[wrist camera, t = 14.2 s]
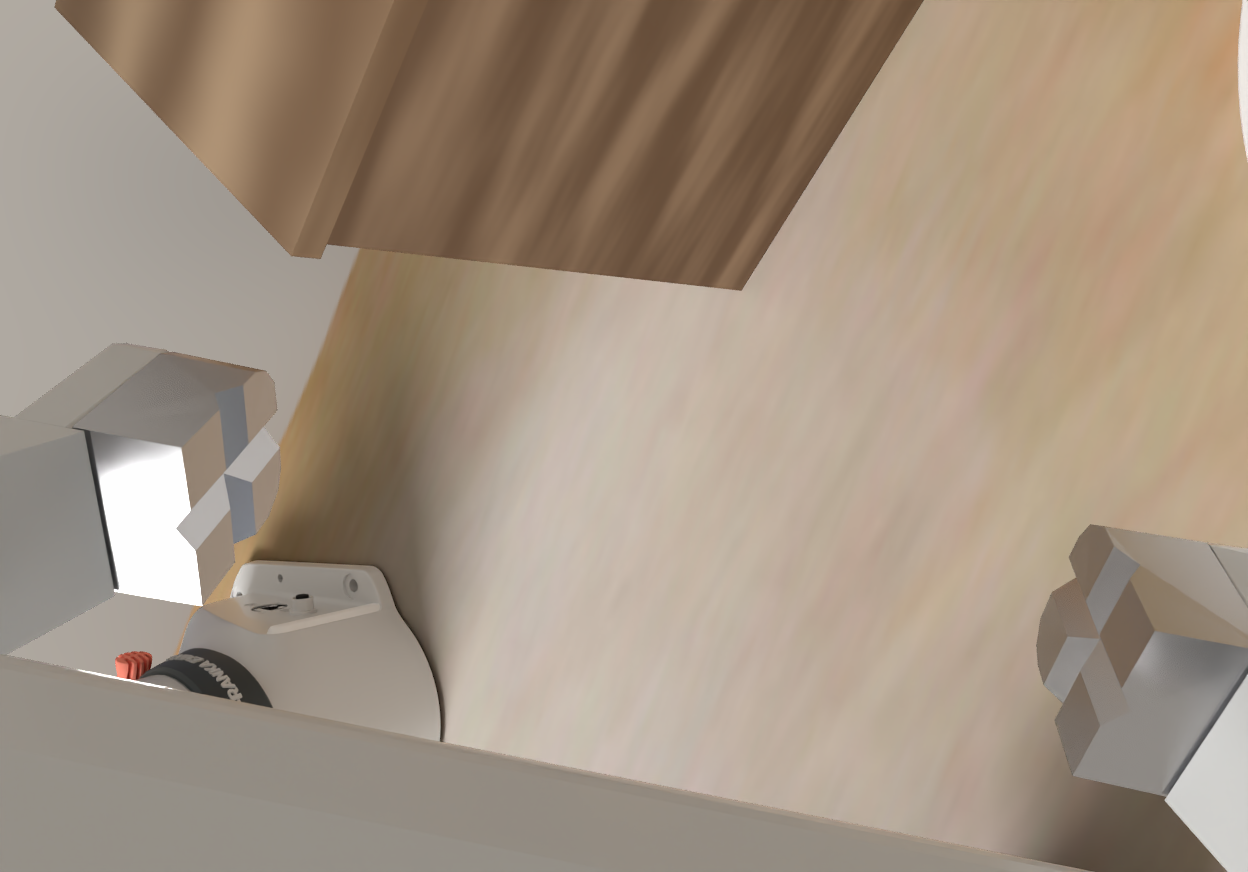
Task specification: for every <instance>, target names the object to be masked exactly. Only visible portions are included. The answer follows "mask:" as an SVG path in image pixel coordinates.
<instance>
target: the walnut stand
mask: <svg viewBox="0 0 1248 872" xmlns="http://www.w3.org/2000/svg"><path fill="white" fill-rule="evenodd" d="M922 2H923V0H56V3H55V8H56V9H57V11H58V12H59V13H60V14H61V15H62V16H63V17H64V18H65V19H66V20H67V21H68V22H69V23H70V24H71V25H72V26H73V27H74V28H75V29H76V30H77V32H78V33H79V34H80V35H81V36H82V37H83V38H84V39H85V40H86V41H87V42H88V43H89V44H90V45H91V46H92V47H93V48H94V49H95V50H96V52H97V53H98V54H99V55H100V56H101V57H102V58H103V59H104V60H105V61H106V62H107V63H108V64H109V65H110V66H111V67H112V68H113V69H114V70H115V71H116V72H117V74H118V75H119V76H120V77H121V78H122V79H123V80H124V81H125V82H126V83H127V84H128V85H129V86H130V87H131V88H132V89H133V90H134V91H135V92H136V93H137V95H138V96H139V97H140V98H141V99H142V100H143V101H144V102H145V103H146V104H147V105H148V106H149V107H150V108H151V109H152V110H153V111H154V112H155V113H156V115H157V116H158V117H159V118H161V120H162V121H163V122H164V123H165V124H166V125H167V126H168V127H169V128H170V129H171V130H172V131H173V132H174V133H175V134H176V136H178V138H179V139H180V140H181V141H182V142H183V143H184V144H185V145H186V146H187V147H188V148H189V149H190V150H191V151H192V152H193V153H194V154H195V155H196V157H197V158H199V160H200V161H201V162H202V163H203V164H204V165H205V166H206V167H207V168H208V169H209V170H210V171H211V172H212V173H213V174H214V175H215V176H216V178H217V179H218V180H219V181H220V182H221V183H222V184H223V185H224V186H225V187H226V188H227V189H228V190H229V191H230V192H231V193H232V194H233V195H234V196H235V197H236V199H237V200H238V201H239V202H240V203H241V204H242V205H243V206H244V207H245V208H246V209H247V210H248V211H249V212H250V213H251V214H252V215H253V216H254V217H255V218H256V219H257V221H258V222H260V224H261V225H262V226H263V227H264V228H265V229H266V230H267V231H268V232H269V233H270V234H271V235H272V236H273V237H274V238H275V239H276V240H277V242H278V243H279V244H280V245H281V246H282V247H283V248H284V249H285V250H286V251H287V252H288V253H289V254H290V255H291V256H296V257H306V258H316V259H321V257H322V254H323V251H324V249H325V247H326V245H327V244H329V245H338V246H348V247H356V248H365V249H374V250H383V251H392V252H401V253H410V254H419V255H427V256H436V257H445V258H454V259H463V260H472V261H481V262H490V263H499V264H508V265H517V266H526V267H535V268H544V269H553V270H562V271H571V272H580V273H588V274H597V275H606V276H615V277H624V278H633V279H642V280H651V281H660V282H669V283H678V284H687V285H696V286H705V287H714V288H723V289H732V290H742V289H743V287H744V285H745V284H746V282H747V281H748V279H749V277H750V276H751V274H752V273H753V271H754V269H755V268H756V266H757V265H758V263H759V261H760V260H761V258H762V257H763V255H764V253H765V252H766V250H767V249H768V247H769V246H770V244H771V242H772V241H773V239H774V238H775V236H776V234H777V233H778V231H779V230H780V228H781V226H782V225H783V223H784V222H785V220H786V218H787V217H788V215H789V214H790V212H791V210H792V209H793V207H794V206H795V204H796V203H797V201H798V199H799V198H800V196H801V195H802V193H803V191H804V190H805V188H806V187H807V185H808V183H809V182H810V180H811V179H812V177H813V175H814V174H815V172H816V171H817V169H818V167H819V166H820V164H821V163H822V161H823V160H824V158H825V156H826V155H827V153H828V152H829V150H830V148H831V147H832V145H833V144H834V142H835V140H836V139H837V137H838V136H839V134H840V132H841V131H842V129H843V128H844V126H845V124H846V123H847V121H848V120H849V118H850V117H851V115H852V113H853V112H854V110H855V109H856V107H857V105H858V104H859V102H860V101H861V99H862V97H863V96H864V94H865V93H866V91H867V89H868V88H869V86H870V85H871V83H872V81H873V80H874V78H875V77H876V75H877V74H878V72H879V70H880V69H881V67H882V66H883V64H884V62H885V61H886V59H887V58H888V56H889V54H890V53H891V51H892V50H893V48H894V46H895V45H896V43H897V42H898V40H899V38H900V37H901V35H902V34H903V32H904V31H905V29H906V27H907V26H908V24H909V23H910V21H911V19H912V18H913V16H914V15H915V13H916V11H917V10H918V8H919V7H920V5H921V3H922Z"/></svg>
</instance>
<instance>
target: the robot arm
mask: <svg viewBox="0 0 1248 872" xmlns="http://www.w3.org/2000/svg"><path fill="white" fill-rule="evenodd" d="M276 411H277V402H276V393H275V383H274V381H273V379H272V378H271V377H270V375H269V374H268V373H267V372H266V371H264V370H259V369H254V368H249V367H245V366H240V365H234V364H230V363H225V362H220V361H215V360H210V359H205V358H201V357H196V356H191V355H186V354H181V353H176V352H169V351H167V350H164V349H157V348H152V347H146V346H139V345H133V344H128V343H116V344H115V343H114V344H111V345H110V346H108V347H107V348H106V349H104V350H103V351H102V352H100V353H99V354H98V355H96V356H95V357H94V358H92V359H91V360H90V361H89V362H87V363H86V364H84V365H83V366H82V367H80V368H79V369H78V370H76V371H75V372H74V373H72V374H71V375H70V376H68V377H67V378H66V379H64V380H63V381H62V382H60V383H59V384H58V385H56V386H55V387H54V388H52V389H51V390H50V391H48V392H47V393H46V394H44V395H43V396H42V397H40V398H39V399H38V400H37V401H35V402H34V403H32V404H31V405H30V406H28V407H27V408H26V409H24V410H23V411H22V412H20V413H19V414H18V415H16V416H15V417H8V416H2V415H0V872H1093V871H1088V870H1083V869H1078V868H1073V867H1068V866H1063V865H1058V864H1053V863H1048V862H1043V861H1038V860H1033V859H1028V858H1023V857H1018V856H1013V855H1008V854H1003V853H998V852H993V851H988V850H983V849H978V848H973V847H968V846H963V845H958V844H953V843H948V842H943V841H938V840H933V839H928V838H923V837H918V836H913V835H908V834H903V833H898V832H893V831H888V830H883V829H878V828H873V827H868V826H863V825H858V824H853V823H848V822H843V821H838V820H833V819H828V818H823V817H818V816H813V815H808V814H803V813H798V812H793V811H788V810H783V809H778V808H773V807H768V806H763V805H758V804H753V803H747V802H742V801H737V800H732V799H727V798H722V797H717V796H712V795H707V794H702V793H697V792H692V791H687V790H682V789H676V788H671V787H666V786H661V785H656V784H651V783H646V782H641V781H636V780H631V779H626V778H621V777H616V776H611V775H606V774H600V773H595V772H590V771H585V770H580V769H575V768H570V767H565V766H560V765H555V764H550V763H545V762H540V761H535V760H530V759H525V758H520V757H515V756H510V755H505V754H500V753H495V752H490V751H485V750H480V749H475V748H470V747H465V746H460V745H455V744H450V743H445V742H440V727H441V726H440V708H439V701H438V695H437V690H436V686H435V682H434V678H433V675H432V672H431V669H430V666H429V664H428V661H427V659H426V657H425V654H424V652H423V650H422V648H421V646H420V645H419V643H418V641H417V639H416V638H415V636H414V635H413V633H412V632H411V630H410V629H409V628H408V626H407V625H406V623H405V622H404V621H403V619H402V618H401V616H400V615H399V613H398V611H397V609H396V607H395V604H394V601H393V598H392V596H391V593H390V590H389V587H388V585H387V582H386V580H385V578H384V576H383V574H382V572H381V571H380V570H379V569H378V568H376V567H374V566H367V565H347V564H326V563H306V562H286V561H266V560H256V561H252V562H248V563H245V564H244V565H242V567H241V568H240V570H239V572H238V574H237V577H236V579H235V582H234V585H233V588H232V592H231V596H230V598H229V599H225V600H221V601H217V602H214V603H210V604H207V605H204V606H202V605H203V604H204V603H205V601H206V600H207V599H208V597H209V596H210V595H211V593H212V592H213V591H214V589H215V588H216V587H217V585H218V584H219V583H220V581H221V580H222V579H223V578H224V576H225V575H226V574H227V572H228V571H229V570H230V568H231V567H232V566H233V564H234V563H235V555H234V544H235V543H237V542H239V541H242V540H244V539H246V538H248V537H251V536H253V535H255V534H257V532H258V531H259V529H260V528H261V526H262V525H263V524H264V522H265V521H266V519H267V518H268V517H269V514H270V512H271V509H272V506H273V503H274V501H275V498H276V495H277V492H278V488H279V480H280V471H281V461H280V447H279V446H278V444H277V443H276V442H275V441H274V439H273V438H272V436H271V435H270V434H269V432H268V431H267V430H266V428H265V427H264V425H265V424H266V423H267V422H268V421H269V420H270V418H271V417H272V416H273V415H274V414H275V413H276ZM1069 559H1070V562H1071V565H1072V568H1073V570H1074V573H1075V576H1076V578H1075V579H1073V580H1071V581H1070V582H1068V583H1066V584H1065V585H1063V586H1061V587H1060V588H1058V589H1056V590H1055V591H1053V592H1052V593H1051V595H1050V598H1049V600H1048V602H1047V605H1046V607H1045V609H1044V612H1043V614H1042V616H1041V619H1040V625H1039V632H1038V638H1037V644H1036V647H1037V660H1038V667H1039V671H1040V674H1041V678H1042V681H1043V684H1044V686H1045V687H1046V688H1047V689H1048V690H1049V691H1050V692H1052V693H1053V694H1054V695H1055V696H1056V697H1057V698H1058V699H1059V700H1060V701H1061V702H1062V703H1063V705H1062V707H1061V709H1060V711H1059V713H1058V715H1057V717H1056V719H1055V723H1056V726H1057V729H1058V732H1059V735H1060V738H1061V741H1062V745H1063V748H1064V751H1065V754H1066V757H1067V760H1068V763H1069V766H1070V769H1071V772H1072V776H1076V777H1080V778H1085V779H1089V780H1094V781H1098V782H1103V783H1107V784H1112V785H1116V786H1121V787H1125V788H1130V789H1134V790H1139V791H1143V792H1148V793H1152V794H1157V795H1161V796H1166V799H1165V802H1166V803H1167V804H1168V805H1169V806H1170V807H1171V808H1172V809H1173V811H1174V812H1175V813H1176V814H1177V815H1178V816H1179V817H1180V819H1181V820H1182V821H1183V822H1184V823H1185V824H1186V825H1187V826H1188V828H1189V829H1190V830H1191V831H1192V832H1193V833H1194V834H1195V835H1196V837H1197V838H1198V839H1199V840H1200V841H1201V842H1202V843H1203V845H1204V846H1205V847H1206V848H1207V849H1208V850H1209V851H1210V852H1211V854H1212V855H1213V856H1214V857H1215V858H1216V859H1217V860H1218V862H1219V863H1220V864H1221V865H1222V866H1223V867H1224V868H1225V869H1226V871H1227V872H1248V548H1242V547H1235V546H1228V545H1221V544H1215V543H1208V542H1201V541H1193V540H1187V539H1180V538H1174V537H1168V536H1161V535H1155V534H1149V533H1143V532H1136V531H1130V530H1124V529H1117V528H1111V527H1105V526H1098V525H1091V524H1090V525H1089V526H1088V527H1087V529H1086V530H1085V531H1084V532H1083V533H1082V534H1081V535H1080V536H1079V538H1078V540H1077V542H1076V544H1075V546H1074V548H1073V550H1072V552H1071V554H1070V556H1069ZM115 591H116V592H122V593H128V594H134V595H140V596H146V597H152V598H159V599H164V600H170V601H176V602H182V603H188V604H194V605H200V606H202V607H201V608H199V609H198V610H197V611H196V612H195V613H194V615H193V616H192V618H191V619H190V621H189V623H188V626H187V628H186V631H185V634H184V638H183V641H182V644H181V648H180V651H179V654H178V655H174V656H172V657H170V658H168V659H166V661H165V662H163V663H161V664H159V665H157V666H156V667H154V668H152V669H150V668H151V664H152V655H151V654H149V653H147V652H135V651H134V652H131V653H124V654H121V655H119V657H117V658H116V659H115V664H116V670H117V677H114V676H109V675H104V674H99V673H94V672H89V671H84V670H79V669H74V668H69V667H64V666H59V665H54V664H49V663H43V662H39V661H34V660H29V659H24V658H19V657H14V656H8V655H7V654H9V653H10V652H13V651H14V650H16V649H18V648H20V647H22V646H23V645H26V644H27V643H29V642H31V641H33V640H35V639H37V638H38V637H40V636H42V635H44V634H46V633H47V632H49V631H51V630H53V629H55V628H57V627H59V626H60V625H62V624H64V623H66V622H68V621H70V620H71V619H73V618H75V617H77V616H79V615H81V614H83V613H84V612H86V611H88V610H90V609H92V608H94V607H95V606H97V605H99V604H101V603H102V602H105V601H106V600H108V599H110V598H112V597H114V596H115Z"/></svg>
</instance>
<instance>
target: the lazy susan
mask: <svg viewBox="0 0 1248 872" xmlns="http://www.w3.org/2000/svg"><path fill="white" fill-rule="evenodd" d="M1238 92H1239V106H1240V117H1241V125H1242V132H1243V139H1244V145H1245V150H1246V156H1247V161H1248V0H1242V8H1241V16H1240V28H1239V42H1238Z"/></svg>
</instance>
